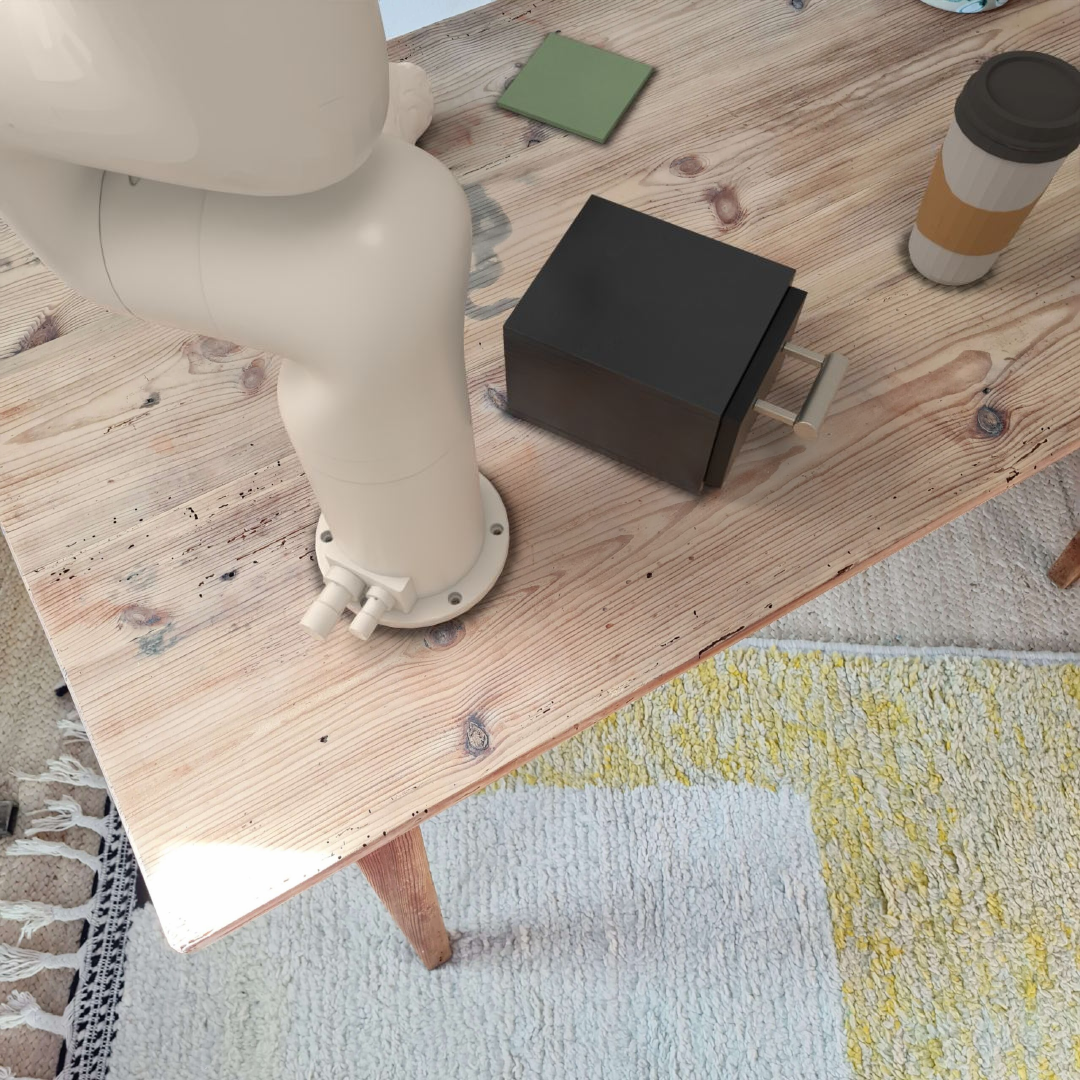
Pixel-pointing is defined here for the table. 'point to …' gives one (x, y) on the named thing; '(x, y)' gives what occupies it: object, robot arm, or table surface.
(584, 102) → the mat
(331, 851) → the table surface
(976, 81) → the coffee cup
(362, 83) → the robot arm
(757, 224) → the table surface
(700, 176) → the table surface
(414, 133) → the bust
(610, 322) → the cabinet
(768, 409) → the drawer
